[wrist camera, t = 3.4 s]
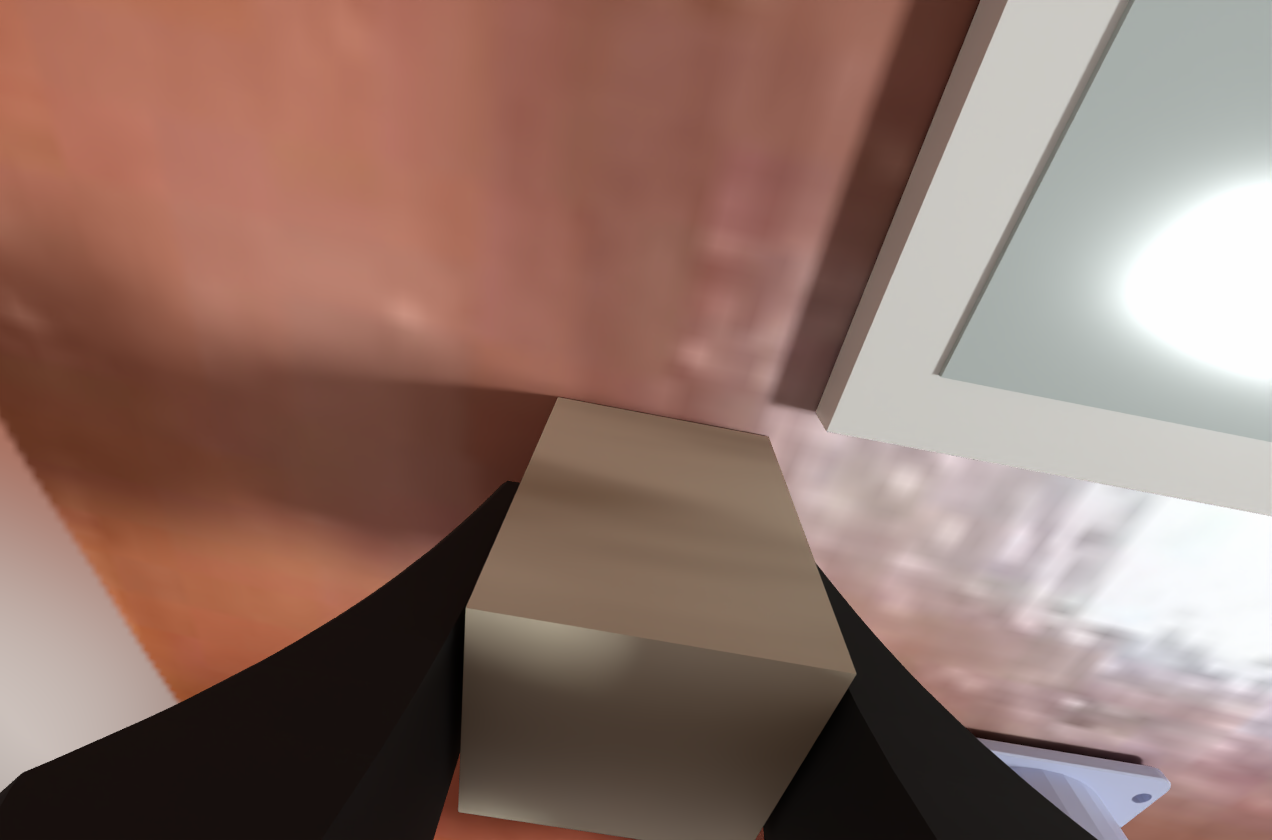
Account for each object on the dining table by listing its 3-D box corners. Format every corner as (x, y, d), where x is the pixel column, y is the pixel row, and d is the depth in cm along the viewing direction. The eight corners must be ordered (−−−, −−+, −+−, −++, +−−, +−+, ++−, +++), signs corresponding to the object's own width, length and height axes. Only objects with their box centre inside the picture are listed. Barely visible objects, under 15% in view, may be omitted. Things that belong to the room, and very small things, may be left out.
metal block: (714, 588, 13) (745, 855, 8) (538, 557, 13) (458, 811, 8) (768, 436, 11) (856, 673, 6) (557, 396, 10) (465, 607, 6)
